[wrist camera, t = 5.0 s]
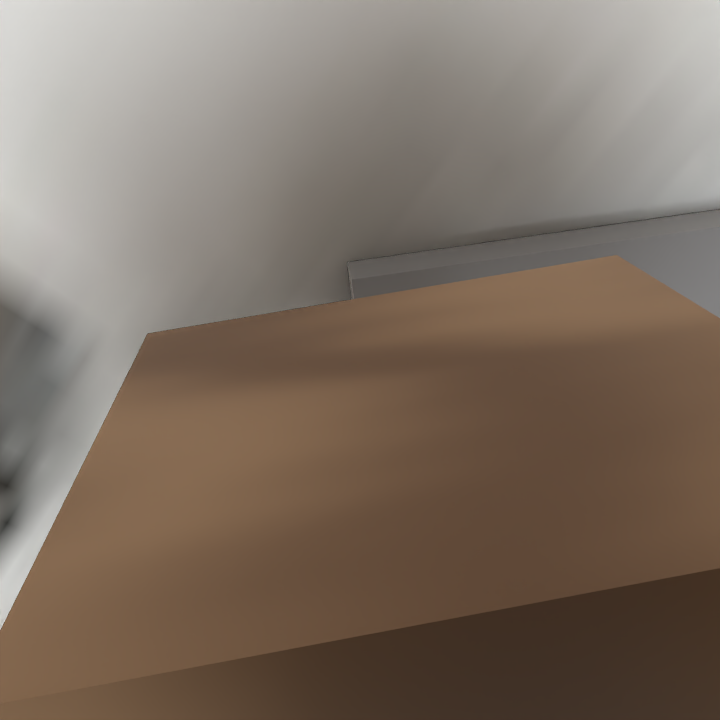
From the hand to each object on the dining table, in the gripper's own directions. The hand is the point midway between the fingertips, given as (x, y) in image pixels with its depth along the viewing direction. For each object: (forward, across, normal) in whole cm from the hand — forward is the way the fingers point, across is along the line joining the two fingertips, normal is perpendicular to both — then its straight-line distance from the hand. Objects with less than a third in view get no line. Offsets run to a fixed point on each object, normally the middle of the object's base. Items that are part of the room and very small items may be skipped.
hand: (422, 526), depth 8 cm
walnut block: (+1, 0, 0) cm, 1 cm away
